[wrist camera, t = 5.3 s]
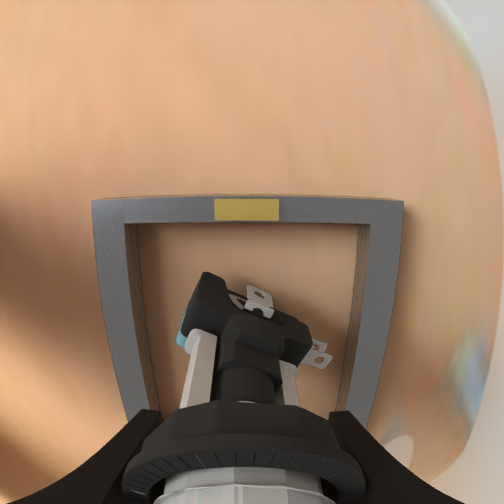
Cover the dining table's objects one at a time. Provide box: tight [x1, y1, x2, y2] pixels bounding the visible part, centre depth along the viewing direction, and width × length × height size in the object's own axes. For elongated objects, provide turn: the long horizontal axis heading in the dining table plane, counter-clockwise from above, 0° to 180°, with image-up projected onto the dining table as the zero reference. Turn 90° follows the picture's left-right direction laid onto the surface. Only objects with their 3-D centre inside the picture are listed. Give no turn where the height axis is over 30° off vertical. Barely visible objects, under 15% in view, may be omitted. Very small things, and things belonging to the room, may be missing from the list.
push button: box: [122, 272, 366, 504], centre depth 9 cm, size 7×5×10 cm
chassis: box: [92, 194, 404, 429], centre depth 14 cm, size 13×14×2 cm
